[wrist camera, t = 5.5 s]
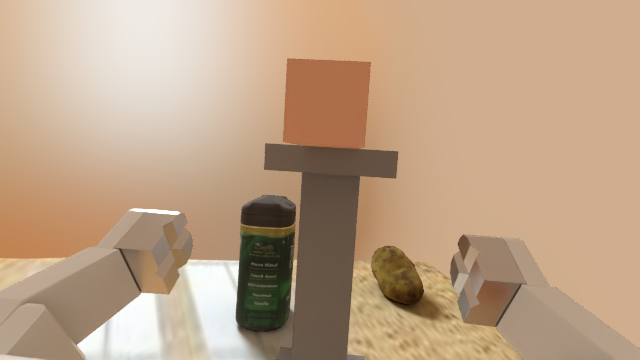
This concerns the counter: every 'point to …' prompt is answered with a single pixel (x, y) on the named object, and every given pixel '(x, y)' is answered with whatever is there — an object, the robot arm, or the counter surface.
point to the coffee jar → (265, 262)
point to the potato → (396, 275)
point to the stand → (326, 241)
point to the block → (326, 103)
